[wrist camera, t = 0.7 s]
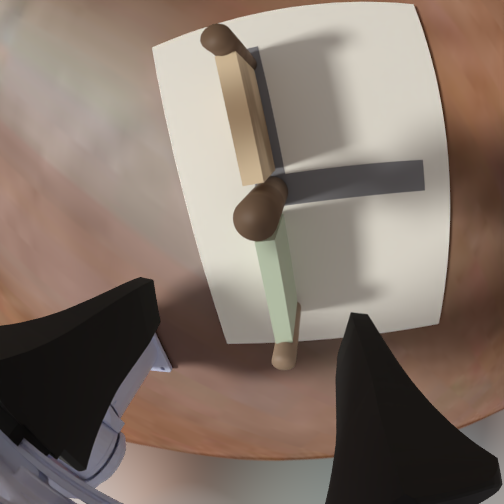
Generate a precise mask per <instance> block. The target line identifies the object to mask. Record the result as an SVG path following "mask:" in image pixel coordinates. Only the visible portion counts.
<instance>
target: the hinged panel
mask: <svg viewBox="0 0 504 504" xmlns="http://www.w3.org/2000/svg"><path fill="white" fill-rule="evenodd" d="M255 247H256V252H257V256H258V261H259V266H260V271H261V275H262V280H263V285H264V290H265V294H266V299H267V304H268V309H269V314H270V318H271V323H272V328H273V333H274V338H275V346H274V351H273V356H272V364H273V366H274V367H275V368H277V369H280V370H290V369H292V368H293V367H294V366H295V365H296V357H297V348H298V338H299V328H300V317H301V305H300V303H299V302H297V294H296V287H295V281H294V274H293V268H292V262H291V255H290V249H289V243H288V237H287V231H286V225H285V220H284V214H281V217H280V220H279V223H278V226H277V229H276V231H275V232H274V234H273V235H272V236H271V237H269V238H268V239H266V240H263V241H255Z"/></svg>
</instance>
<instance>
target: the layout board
mask: <svg viewBox="0 0 504 504" xmlns="http://www.w3.org/2000/svg"><path fill="white" fill-rule="evenodd" d="M218 24H224V25H226V26H228V27H229V28H230V30H231V31H232V32H233V33H234V34H235V35H236V36H237V38H238V39H239V40H240V41H241V42H242V44H243V45H244V46H245V47H246V48H247V50H248V51H249V52H250V53H251V55H252V56H253V57H254V58H255V60H256V62H257V67H256V69H255V70H254V71H255V75H256V80H257V84H258V89H259V93H260V98H261V102H262V107H263V111H264V116H265V121H266V126H267V130H268V135H269V140H270V145H271V150H272V155H273V160H274V165H275V171H274V172H273V173H272V174H271V175H270V176H274V177H278V178H280V179H282V180H283V181H284V182H285V184H286V185H287V188H288V197H287V200H286V203H285V206H284V209H283V211H282V214H284V220H285V225H286V231H287V237H288V243H289V249H290V255H291V262H292V268H293V274H294V281H295V287H296V294H297V302H299V303H300V305H301V317H300V328H299V338H298V341H310V340H322V339H334V338H343V336H344V333H345V330H346V327H347V323H348V320H349V316H350V313H351V312H353V313H362V314H368V315H369V317H370V318H371V320H372V322H373V323H374V325H375V327H376V328H377V330H378V331H379V333H386V332H393V331H400V330H406V329H412V328H418V327H424V326H430V325H435V324H439V320H440V314H441V309H442V302H443V296H444V289H445V281H446V272H447V262H448V250H449V232H450V180H449V162H448V150H447V140H446V132H445V124H444V118H443V111H442V105H441V100H440V94H439V89H438V85H437V80H436V76H435V71H434V67H433V63H432V60H431V56H430V52H429V49H428V45H427V42H426V39H425V36H424V32H423V29H422V26H421V24H420V21H419V18H418V15H417V12H416V10H415V7H414V5H413V4H404V3H389V2H342V3H326V4H315V5H306V6H298V7H291V8H284V9H278V10H273V11H268V12H263V13H258V14H253V15H249V16H245V17H240V18H236V19H233V20H229V21H225V22H222V23H218ZM206 28H207V27H205V28H202V29H199V30H196V31H193V32H190V33H188V34H185V35H182V36H180V37H177V38H174V39H172V40H169V41H167V42H164V43H162V44H159V45H157V46H155V47H152V50H153V56H154V61H155V67H156V72H157V78H158V83H159V88H160V93H161V98H162V103H163V108H164V113H165V117H166V122H167V127H168V131H169V136H170V140H171V145H172V149H173V153H174V158H175V162H176V166H177V170H178V174H179V178H180V183H181V187H182V190H183V194H184V198H185V202H186V206H187V210H188V214H189V218H190V221H191V225H192V229H193V232H194V236H195V240H196V243H197V247H198V250H199V254H200V257H201V261H202V264H203V268H204V271H205V275H206V278H207V281H208V285H209V288H210V291H211V295H212V298H213V301H214V304H215V308H216V311H217V314H218V317H219V320H220V323H221V326H222V330H223V333H224V336H225V339H226V342H227V344H245V343H275V338H274V333H273V328H272V323H271V318H270V314H269V309H268V304H267V299H266V294H265V290H264V285H263V280H262V275H261V271H260V266H259V261H258V256H257V252H256V247H255V241H251V240H248V239H246V238H244V237H242V236H241V235H240V234H239V233H238V232H237V230H236V229H235V226H234V223H233V213H234V210H235V208H236V206H237V205H238V204H239V203H240V202H241V201H242V200H243V199H244V198H245V197H246V196H247V195H248V194H249V192H250V191H251V190H252V189H253V188H254V187H255V186H256V185H257V184H252V185H247V186H242V181H241V176H240V172H239V167H238V162H237V158H236V153H235V148H234V144H233V139H232V134H231V130H230V125H229V121H228V116H227V111H226V107H225V102H224V98H223V93H222V88H221V84H220V79H219V75H218V70H217V66H216V61H215V55H214V54H212V53H211V52H209V51H208V50H207V49H205V48H204V47H203V46H202V44H201V42H200V37H201V34H202V32H203V31H204V30H205V29H206Z"/></svg>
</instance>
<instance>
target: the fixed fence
mask: <svg viewBox="0 0 504 504" xmlns="http://www.w3.org/2000/svg"><path fill="white" fill-rule="evenodd" d="M200 42H201V44H202V46H203V47H204V48H205V49H207V50H208V51H209V52H211V53H212V54H214V55H215V61H216V66H217V70H218V75H219V79H220V84H221V88H222V93H223V98H224V102H225V107H226V111H227V116H228V121H229V125H230V130H231V134H232V139H233V144H234V148H235V153H236V158H237V162H238V167H239V172H240V176H241V181H242V186H247V185H252V184H257V185H256V186H255V187H254V188H253V189H252V190H251V191H250V192H249V194H248V195H247V196H246V197H245V198H244V199H243V200H242V201H241V202H240V203H239V204H238V205H237V206H236V208H235V210H234V213H233V223H234V226H235V229H236V230H237V232H238V233H239V234H240V235H241V236H242V237H244V238H246V239H248V240H251V241H263V240H266V239H268V238H269V237H271V236H272V235H273V234H274V232H275V231H276V229H277V226H278V223H279V220H280V217H281V214H282V211H283V209H284V206H285V203H286V200H287V197H288V188H287V185H286V184H285V182H284V181H283V180H282V179H280V178H278V177H274V176H270V175H271V174H272V173H273V172H274V171H275V165H274V160H273V155H272V150H271V145H270V140H269V135H268V130H267V126H266V121H265V116H264V111H263V107H262V102H261V98H260V93H259V89H258V84H257V80H256V75H255V71H254V70H255V69H256V67H257V62H256V60H255V58H254V57H253V56H252V55H251V53H250V52H249V51H248V50H247V48H246V47H245V46H244V45H243V44H242V42H241V41H240V40H239V39H238V38H237V36H236V35H235V34H234V33H233V32H232V31H231V30H230V28H229V27H228V26H226V25H224V24H213V25H210V26H208V27H207V28H206V29H205V30H204V31H203V32H202V34H201V37H200Z"/></svg>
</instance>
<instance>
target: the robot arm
mask: <svg viewBox="0 0 504 504" xmlns="http://www.w3.org/2000/svg"><path fill="white" fill-rule="evenodd" d="M159 324H160V317H159V311H158V306H157V300H156V294H155V287H154V281H153V280H151V279H147V278H142V277H139V278H136V279H134V280H131V281H129V282H127V283H124V284H122V285H120V286H118V287H116V288H113V289H111V290H109V291H107V292H105V293H103V294H101V295H98V296H96V297H94V298H92V299H90V300H87V301H85V302H83V303H80V304H78V305H76V306H73V307H71V308H69V309H66V310H63V311H61V312H58V313H55V314H52V315H49V316H45V317H42V318H38V319H34V320H30V321H26V322H22V323H16V324H10V325H3V326H0V504H77V503H75V502H74V501H72V500H71V499H69V498H77V499H80V500H81V501H83V502H85V503H86V504H123V503H120V502H119V501H117V500H115V499H113V498H111V497H109V496H107V495H105V494H104V493H102V492H100V491H98V490H96V489H95V488H96V487H97V486H98V485H99V484H101V483H102V482H104V481H106V480H107V479H108V478H110V477H111V476H112V474H113V473H114V472H115V471H116V470H117V468H118V467H119V465H120V463H121V461H122V459H123V457H124V454H125V451H126V443H125V436H124V434H123V433H122V432H120V430H121V429H122V427H123V425H124V424H125V423H124V422H123V421H122V420H121V419H120V418H121V417H122V415H123V413H124V412H125V410H126V408H127V407H128V405H129V404H130V402H131V400H132V399H133V397H134V395H135V394H136V392H137V391H138V389H139V387H140V386H141V384H142V383H143V381H144V379H145V378H146V376H147V375H148V373H149V371H150V370H153V371H162V372H171V370H172V366H171V364H170V362H169V360H168V358H167V356H166V354H165V352H164V350H163V348H162V346H161V343H160V341H159V339H158V337H157V335H156V333H155V332H156V330H157V328H158V326H159ZM501 486H502V479H501V473H500V468H499V463H498V458H496V457H495V456H494V455H492V454H491V453H489V452H488V451H486V450H485V449H483V448H481V447H480V446H479V445H477V444H476V443H474V442H473V441H472V440H470V439H469V438H468V437H467V436H465V435H464V434H463V433H462V432H460V431H459V430H458V429H457V428H456V427H455V426H453V425H452V424H451V423H450V422H449V421H448V420H447V419H446V418H445V417H444V416H443V415H442V414H441V413H440V412H439V411H438V410H437V409H436V408H435V407H434V406H433V405H432V404H431V403H430V402H429V401H428V400H427V398H426V397H425V396H424V395H423V394H422V393H421V391H420V390H419V389H418V388H417V387H416V386H415V384H414V383H413V382H412V381H411V379H410V378H409V377H408V375H407V374H406V372H405V371H404V370H403V368H402V367H401V366H400V364H399V363H398V361H397V360H396V358H395V357H394V355H393V354H392V352H391V351H390V349H389V348H388V346H387V344H386V343H385V341H384V340H383V338H382V336H381V335H380V333H379V331H378V330H377V328H376V327H375V325H374V323H373V322H372V320H371V318H370V317H369V315H368V314H362V313H353V312H351V313H350V316H349V320H348V323H347V327H346V330H345V333H344V336H343V340H342V343H341V346H340V349H339V352H338V356H337V368H336V446H335V454H334V461H333V468H332V474H331V479H330V484H329V490H328V494H327V498H326V502H325V504H479V503H481V502H483V501H484V500H486V499H488V498H489V497H491V496H492V495H494V494H495V493H496V492H497V491H499V489H500V488H501Z"/></svg>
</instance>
